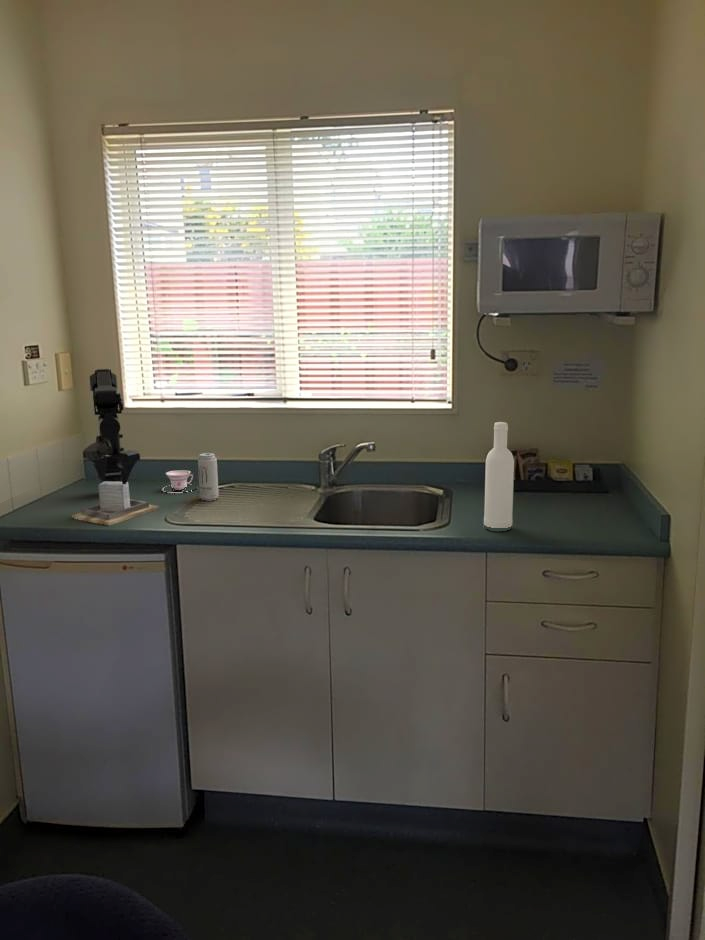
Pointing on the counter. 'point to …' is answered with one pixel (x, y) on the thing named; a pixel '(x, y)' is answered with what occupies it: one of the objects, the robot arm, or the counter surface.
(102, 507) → the medicine box
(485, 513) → the bottle
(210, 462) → the energy drink can
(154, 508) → the holder
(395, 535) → the counter surface
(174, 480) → the teacup
